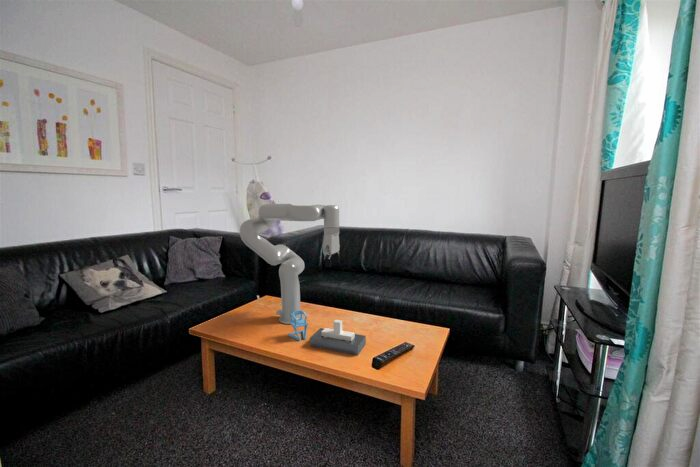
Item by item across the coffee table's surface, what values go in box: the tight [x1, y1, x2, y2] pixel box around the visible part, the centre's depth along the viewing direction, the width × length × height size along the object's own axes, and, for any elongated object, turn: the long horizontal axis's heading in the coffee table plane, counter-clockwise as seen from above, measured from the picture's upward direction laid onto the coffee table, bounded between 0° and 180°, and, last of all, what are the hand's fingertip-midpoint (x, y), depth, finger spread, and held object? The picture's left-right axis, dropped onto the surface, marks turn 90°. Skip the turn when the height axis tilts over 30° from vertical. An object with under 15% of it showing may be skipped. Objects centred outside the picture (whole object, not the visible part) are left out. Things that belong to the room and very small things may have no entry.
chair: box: [287, 310, 309, 342], centre depth 147 cm, size 8×8×12 cm
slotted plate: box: [309, 328, 367, 356], centre depth 139 cm, size 22×10×4 cm, turn 69°
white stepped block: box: [321, 319, 356, 342], centre depth 139 cm, size 14×4×10 cm, turn 69°
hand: (332, 264), depth 159 cm, fingers open, 9 cm apart
